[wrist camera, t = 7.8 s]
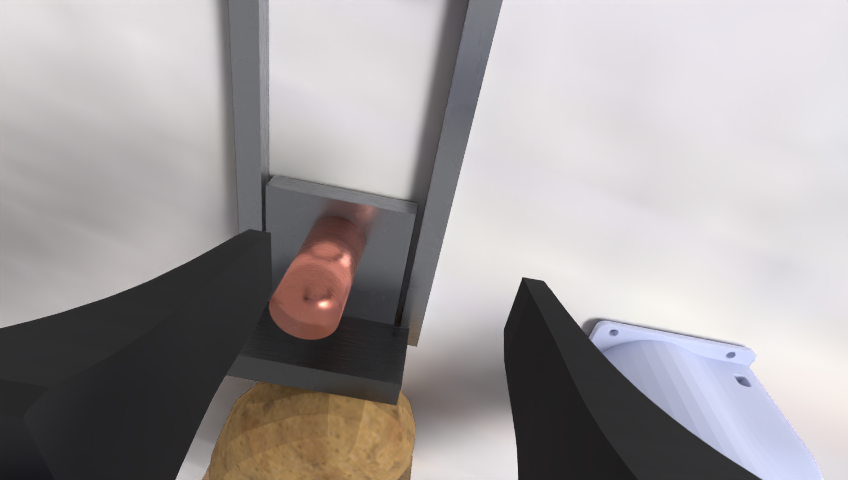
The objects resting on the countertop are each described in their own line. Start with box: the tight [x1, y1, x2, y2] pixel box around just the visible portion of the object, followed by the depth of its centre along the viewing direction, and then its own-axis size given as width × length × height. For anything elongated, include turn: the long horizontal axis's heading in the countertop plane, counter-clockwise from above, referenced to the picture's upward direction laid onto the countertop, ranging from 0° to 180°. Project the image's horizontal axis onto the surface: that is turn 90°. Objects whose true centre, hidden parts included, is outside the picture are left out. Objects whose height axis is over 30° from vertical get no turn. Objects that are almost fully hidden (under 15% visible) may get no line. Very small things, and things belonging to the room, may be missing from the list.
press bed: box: [202, 0, 503, 480], centre depth 23 cm, size 14×34×6 cm, turn 169°
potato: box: [209, 381, 415, 480], centre depth 27 cm, size 10×14×8 cm
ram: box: [226, 175, 418, 406], centre depth 21 cm, size 9×9×7 cm
